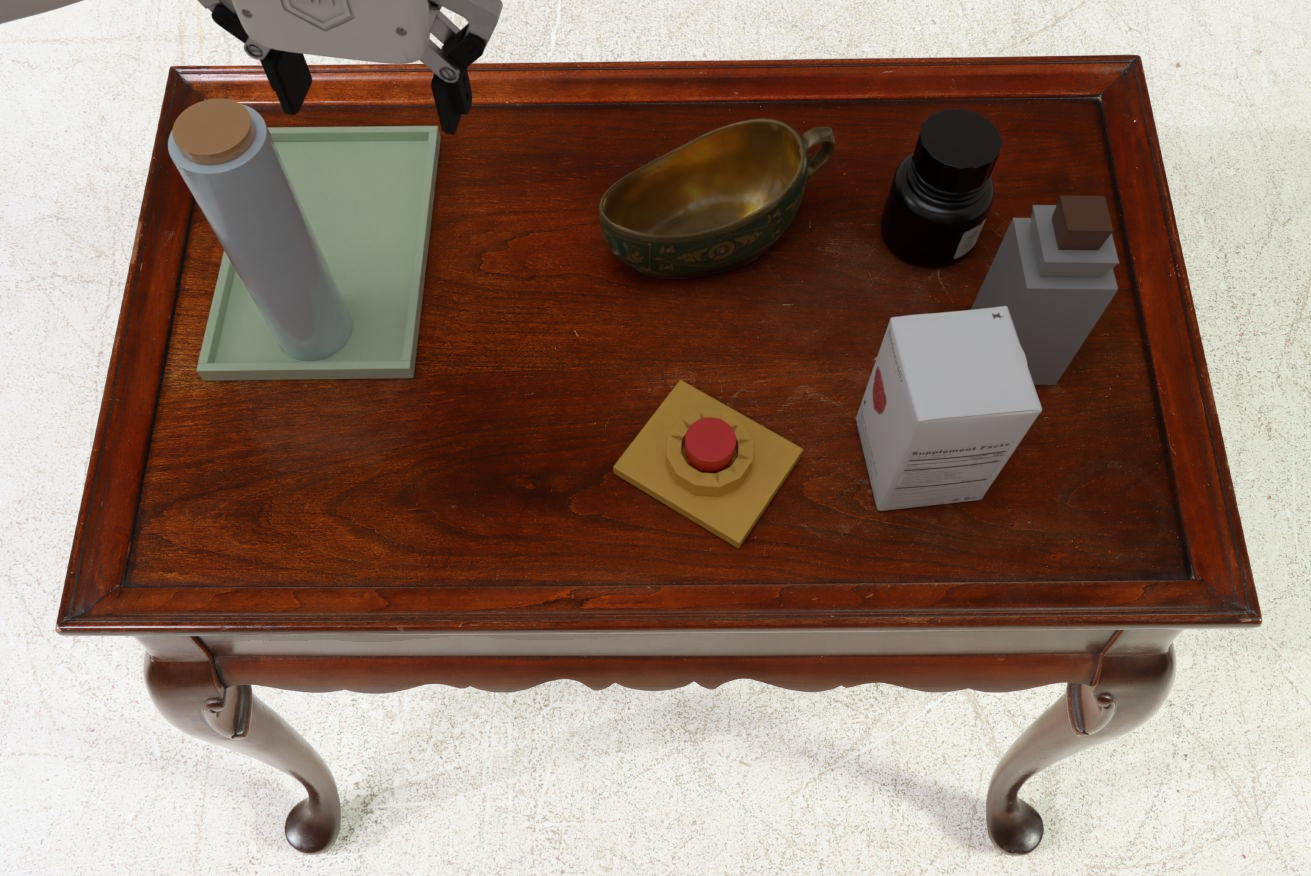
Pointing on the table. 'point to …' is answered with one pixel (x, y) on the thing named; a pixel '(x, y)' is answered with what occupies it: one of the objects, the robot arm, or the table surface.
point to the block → (703, 496)
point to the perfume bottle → (1054, 280)
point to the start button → (710, 444)
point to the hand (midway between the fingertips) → (377, 107)
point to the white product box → (944, 407)
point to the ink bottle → (942, 189)
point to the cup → (712, 199)
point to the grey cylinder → (261, 225)
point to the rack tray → (343, 254)
